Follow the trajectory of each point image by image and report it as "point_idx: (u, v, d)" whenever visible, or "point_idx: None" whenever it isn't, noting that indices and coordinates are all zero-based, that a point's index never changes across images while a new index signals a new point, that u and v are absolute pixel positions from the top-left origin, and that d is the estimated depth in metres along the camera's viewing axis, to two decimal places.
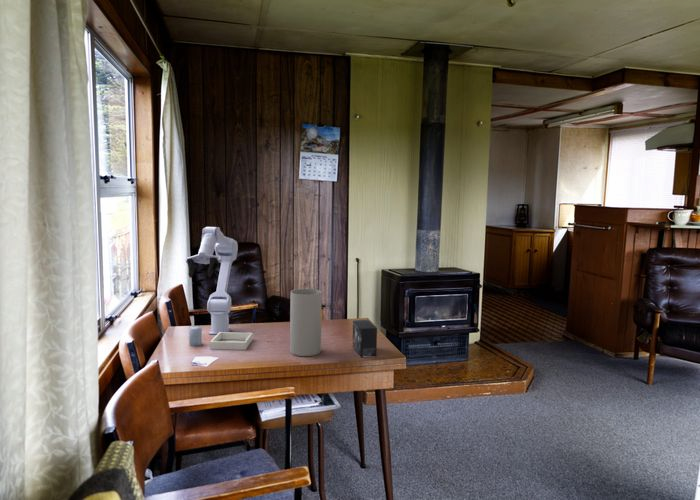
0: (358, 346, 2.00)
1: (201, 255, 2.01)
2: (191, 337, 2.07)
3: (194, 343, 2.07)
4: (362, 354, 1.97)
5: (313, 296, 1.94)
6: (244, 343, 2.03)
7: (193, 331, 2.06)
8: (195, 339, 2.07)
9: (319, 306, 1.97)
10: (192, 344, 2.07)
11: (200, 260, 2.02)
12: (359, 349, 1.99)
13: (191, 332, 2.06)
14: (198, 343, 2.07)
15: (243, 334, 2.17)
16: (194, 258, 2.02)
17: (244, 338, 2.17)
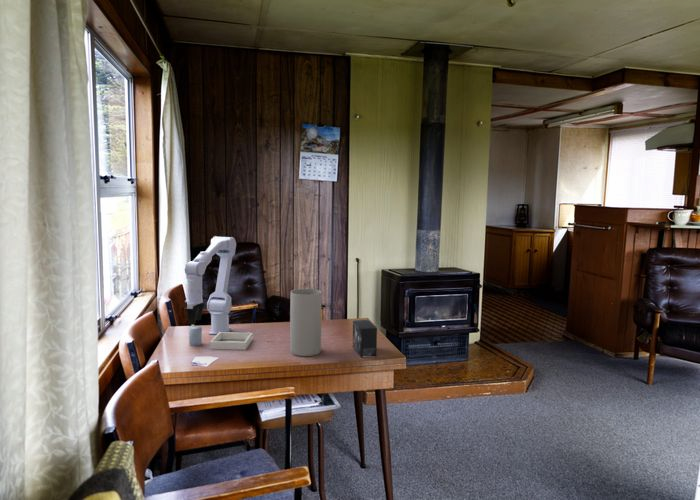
0: (358, 346, 2.00)
1: None
2: (191, 337, 2.07)
3: (194, 343, 2.07)
4: (362, 354, 1.97)
5: (313, 296, 1.94)
6: (244, 343, 2.03)
7: (193, 331, 2.06)
8: (195, 339, 2.07)
9: (319, 306, 1.97)
10: (192, 344, 2.07)
11: None
12: (359, 349, 1.99)
13: (191, 332, 2.06)
14: (198, 343, 2.07)
15: (243, 334, 2.17)
16: None
17: (244, 338, 2.17)
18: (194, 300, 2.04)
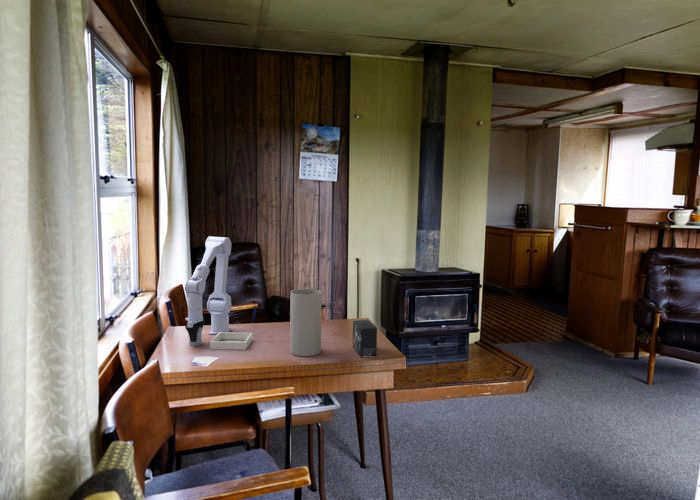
0: (358, 346, 2.00)
1: None
2: None
3: (194, 343, 2.07)
4: (362, 354, 1.97)
5: (313, 296, 1.94)
6: (244, 343, 2.03)
7: None
8: None
9: (319, 306, 1.97)
10: (192, 344, 2.07)
11: None
12: (359, 349, 1.99)
13: None
14: (198, 343, 2.07)
15: (243, 334, 2.17)
16: None
17: (244, 338, 2.17)
18: (194, 318, 2.05)
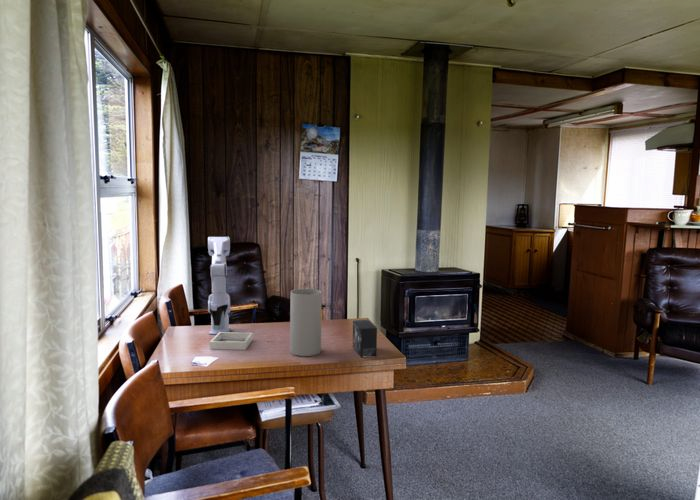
0: (358, 346, 2.00)
1: None
2: None
3: (217, 327, 2.07)
4: (362, 354, 1.97)
5: (313, 296, 1.94)
6: (244, 343, 2.03)
7: None
8: None
9: (319, 306, 1.97)
10: (215, 328, 2.07)
11: None
12: (359, 349, 1.99)
13: None
14: (221, 327, 2.08)
15: (243, 334, 2.17)
16: None
17: (244, 338, 2.17)
18: (218, 302, 2.05)
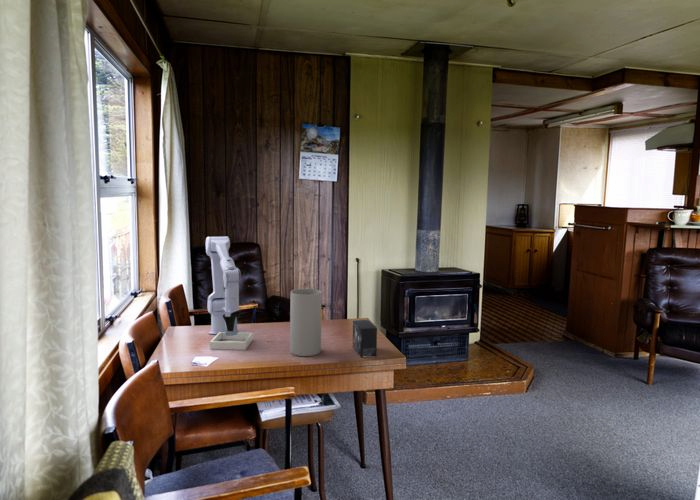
0: (358, 346, 2.00)
1: None
2: None
3: (230, 333, 2.08)
4: (362, 354, 1.97)
5: (313, 296, 1.94)
6: (244, 343, 2.03)
7: None
8: None
9: (319, 306, 1.97)
10: (228, 334, 2.08)
11: None
12: (359, 349, 1.99)
13: None
14: (234, 332, 2.08)
15: (243, 334, 2.17)
16: None
17: (244, 338, 2.17)
18: (231, 308, 2.06)
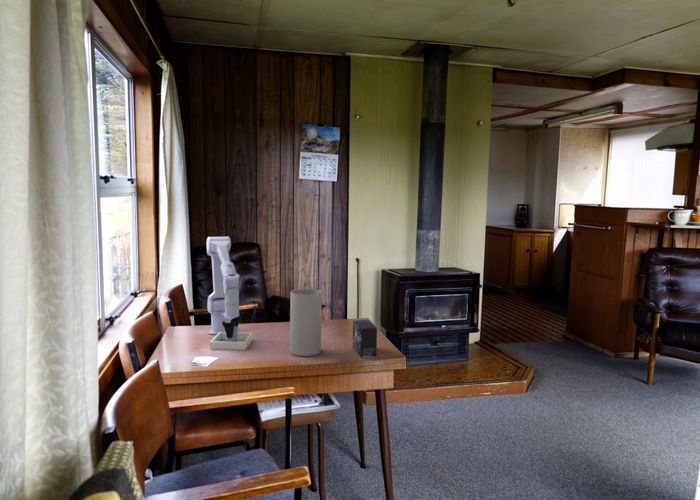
0: (358, 346, 2.00)
1: None
2: None
3: None
4: (362, 354, 1.97)
5: (313, 296, 1.94)
6: (244, 343, 2.03)
7: None
8: (232, 338, 2.08)
9: (319, 306, 1.97)
10: None
11: None
12: (359, 349, 1.99)
13: None
14: None
15: (243, 334, 2.17)
16: None
17: (244, 338, 2.17)
18: (231, 314, 2.06)
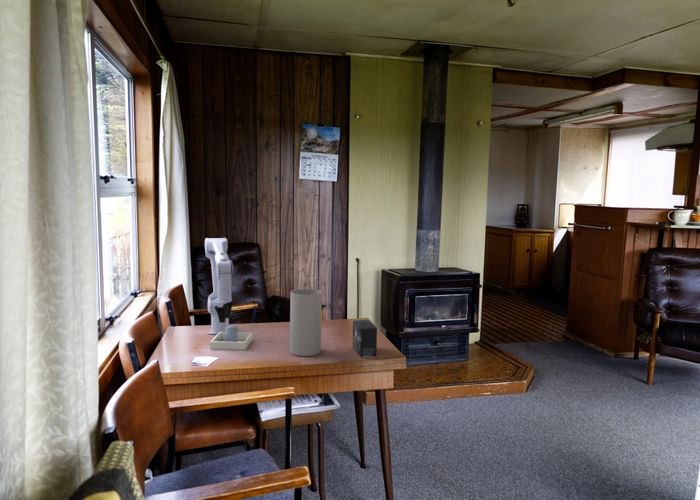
0: (358, 346, 2.00)
1: None
2: (228, 336, 2.08)
3: None
4: (362, 354, 1.97)
5: (313, 296, 1.94)
6: (244, 343, 2.03)
7: (230, 330, 2.08)
8: (232, 338, 2.08)
9: (319, 306, 1.97)
10: None
11: None
12: (359, 349, 1.99)
13: (228, 331, 2.08)
14: None
15: (243, 334, 2.17)
16: None
17: (244, 338, 2.17)
18: (224, 299, 2.09)
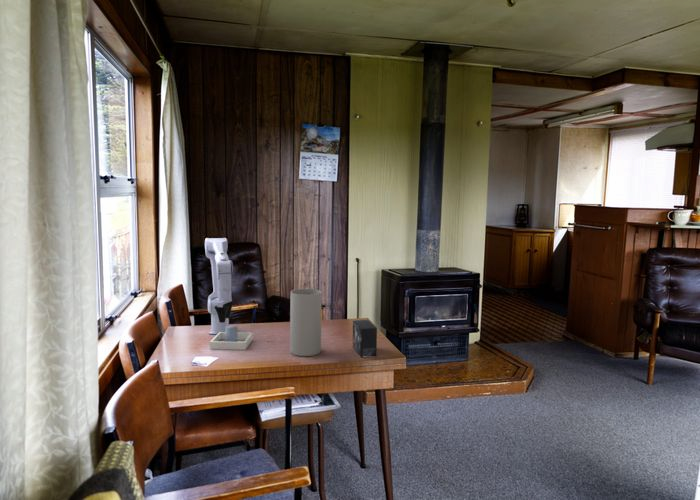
0: (358, 346, 2.00)
1: None
2: (228, 336, 2.08)
3: None
4: (362, 354, 1.97)
5: (313, 296, 1.94)
6: (244, 343, 2.03)
7: (230, 330, 2.08)
8: (232, 338, 2.08)
9: (319, 306, 1.97)
10: None
11: None
12: (359, 349, 1.99)
13: (228, 331, 2.08)
14: None
15: (243, 334, 2.17)
16: None
17: (244, 338, 2.17)
18: (224, 299, 2.09)
